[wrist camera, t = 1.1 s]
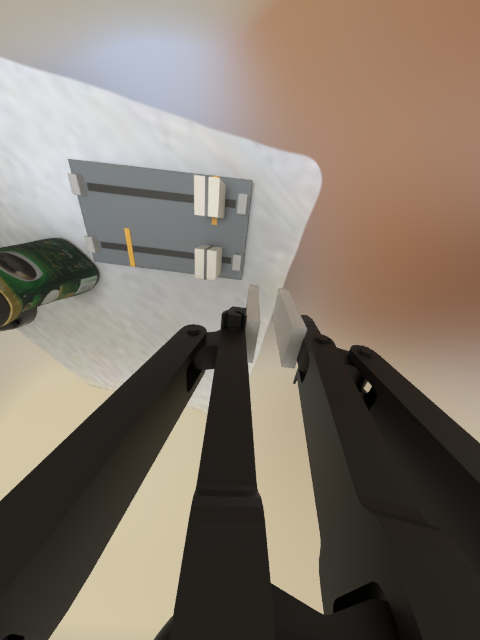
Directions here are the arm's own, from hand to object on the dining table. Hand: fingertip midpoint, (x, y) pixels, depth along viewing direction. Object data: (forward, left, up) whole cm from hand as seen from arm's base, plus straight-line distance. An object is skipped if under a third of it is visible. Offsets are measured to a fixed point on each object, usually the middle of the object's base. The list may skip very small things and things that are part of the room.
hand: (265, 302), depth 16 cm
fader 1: (-8, +8, -16) cm, 20 cm away
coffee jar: (-35, -5, -19) cm, 40 cm away
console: (-16, +4, -18) cm, 25 cm away
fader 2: (-8, 0, -16) cm, 18 cm away
